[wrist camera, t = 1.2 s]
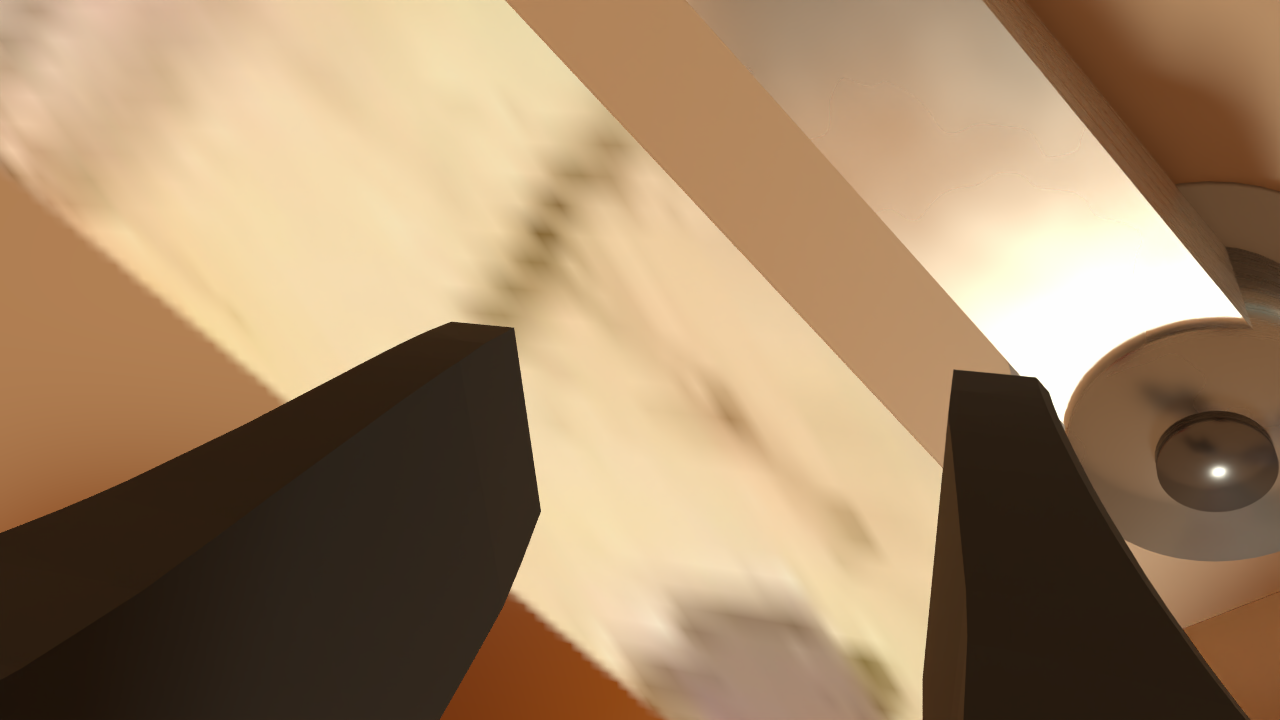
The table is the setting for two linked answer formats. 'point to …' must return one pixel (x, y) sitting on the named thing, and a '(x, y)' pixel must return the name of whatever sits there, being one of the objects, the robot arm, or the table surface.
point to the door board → (872, 254)
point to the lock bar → (1050, 245)
